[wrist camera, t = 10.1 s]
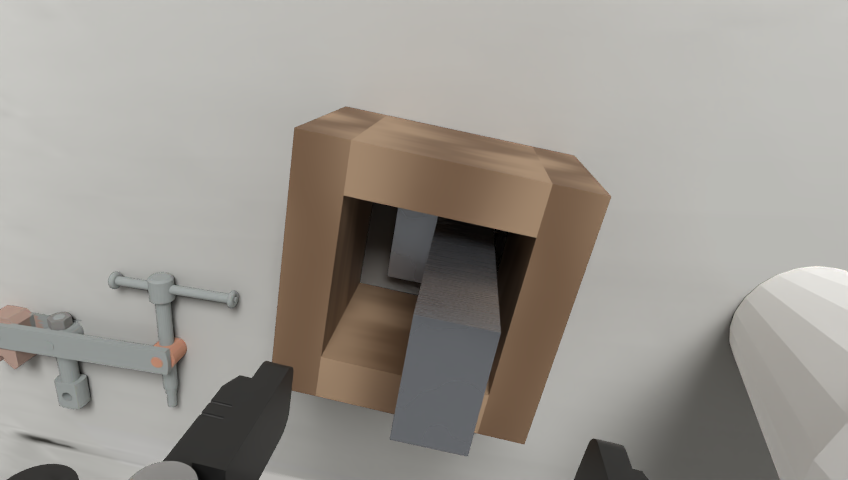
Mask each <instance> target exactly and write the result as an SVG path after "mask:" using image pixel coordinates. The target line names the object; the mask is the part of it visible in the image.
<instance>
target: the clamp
mask: <svg viewBox="0 0 848 480" xmlns="http://www.w3.org/2000/svg"><path fill="white" fill-rule="evenodd" d="M108 285H109V287H110V288H112V289H117V288H119V287H120V286H125V287H131V288H137V289H143V290H148V293H149V301H150V302H151V303H153V304H155V309H156V318H157V328H158V338H159V341H158V342H157V343H156V344H155V345H154V346H150V345H144V344H138V343H132V342H125V341H119V340H113V339H106V338H100V337H94V336H88V335H84V331H83V328H82V326H81V325H80V324H79V323H78V321H81V320H76V319H72V316H71V315H70V314H69V313H67V312H59V313H55V314H52V315H45V314H39V313H32V312H30V311H29V310H28V309H27V308H23V307H17V306H10V305H7V306H5V307H4V308H2V309H0V361H2V360H3V359H4V361H6V362H7V363H8V364H9V365H10V366H11V367H12V368H14V369H16V368H18V367H19V366H21V365H22V364H24V363H25V362H26V361H28V360H29V359H31V358H32V357H34V356H35V355H37V354H40V355H46V356H52V357H56V358H57V363H58V368H59V373H60V375H59V376H58V377H57V378H56V379H55V381H54V382H55V387H56V392H57V397H58V402H59V406H62V407H64V408H68V409H80V408H81V407H83V406H84V405H86V404H87V403H88V402H89V401H90V393H89V387H88V381H87V375H83V374H80V373H79V367H78V361H83V362H89V363H95V364H101V365H107V366H114V367H120V368H126V369H132V370H138V371H144V372H151V373H157V374H162V376H163V386H164V389H165V390H166V394H167V401H168V406H169V407H174V406H176V405H177V394H176V392H177V387H178V379H177V367H176V363H177V362H178V361H179V360H180V359H181V358H182V357H183V356H184V355H185V353H186V351H187V346H186V344H185V342H184V341H183V340H182V339H181V338H178V337H174V334H173V323H172V312H171V302H172V301H173V300H174V299H175V295H180V296H186V297H192V298H198V299H204V300H210V301H217V302H223V303H227V306H228V307H229V308H234V307H235V306H236V305H237V303H238V299H239V295H238V292H237V291H235V290H233V291H231V292H230V293H229V294H227V293H221V292H215V291H209V290H203V289H196V288H190V287H184V286H178V285H174V277H173V276H172V275H171V274H169V273H164V272H161V273H155V274H153V275H151V276H150V277H149V278H148V279H147V280H141V279H135V278H128V277H123V275H122V274H121V273H120V272H113V273H112V274H111V275H110V276H109V279H108Z"/></svg>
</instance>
